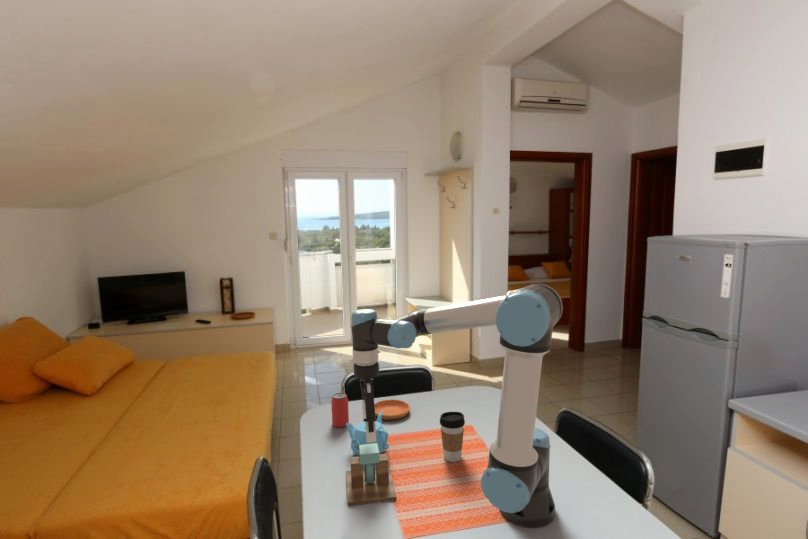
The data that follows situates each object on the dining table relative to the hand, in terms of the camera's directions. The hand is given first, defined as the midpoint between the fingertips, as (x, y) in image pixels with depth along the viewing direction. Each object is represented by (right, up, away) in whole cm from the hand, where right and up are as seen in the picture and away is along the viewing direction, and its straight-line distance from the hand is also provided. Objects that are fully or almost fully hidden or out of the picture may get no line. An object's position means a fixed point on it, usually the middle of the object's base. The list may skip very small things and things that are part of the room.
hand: (369, 430), depth 134 cm
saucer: (+5, -12, +53) cm, 54 cm away
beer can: (-15, -13, +43) cm, 48 cm away
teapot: (-2, -16, +22) cm, 27 cm away
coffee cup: (+27, -16, +18) cm, 36 cm away
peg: (0, -16, +2) cm, 16 cm away
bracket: (0, -18, +2) cm, 18 cm away
